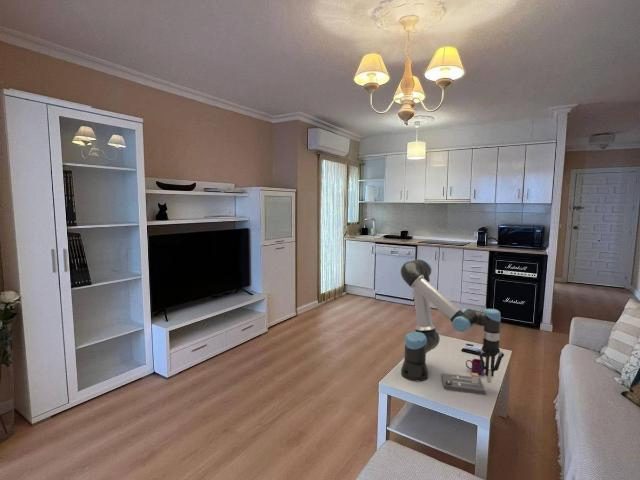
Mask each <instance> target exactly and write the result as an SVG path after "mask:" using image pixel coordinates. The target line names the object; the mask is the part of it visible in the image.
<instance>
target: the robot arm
mask: <svg viewBox="0 0 640 480" xmlns="http://www.w3.org/2000/svg"><path fill="white" fill-rule="evenodd" d="M431 274H432V265H431V263H429V261H427V260H425V259H421V258H419V259H415V260H410V261H406V262H404V264H403V265H402V266H401V269H400V276H401V278H402V279H403V281H404V282H405V283H406V284H407V285H408V286H409V287H410V288H411V289H412V290H413V299H414V306H415V317H416V326H415V327H414V331H413V332H408V333H407V334H405V338H404V361H403V363H402V366H401V368H400V375H402V377H403V378H405V379H406V380H409V381H414V382H422V381H426V380H427V379H429V369H428V367H427V363H426V362H427V360H426V359H427V353H429V352H430V351H431V350H434V349H435V348H436V347H437V346H438V345H439V343H440V339H441V337H440V334H439V332H438V331H437V330H436V326H435V325H434V324H433V322H432V321H433V319H432V311H431V305H433V307H435V308H436V309H437V310H439V312H441V313H442V314H443V315H444V316H445V317H446V318H447V319H448V320H449V321H451V322H452V326H453V328H454V329H455V331H457V332H460V333H463V332H465V331H468V330H470V329H471V327H473V326H476V325H477V326H479V327H483V339H482V340H483V341H482V347H481V348H480V349H477V350H476V351H477V353H478V356H479V359H480V361H481V365H482V368H483V369H484V375H485V376H486V382H487V384H492V378H494V375H495V374H494V373H495V371H497V372H498V371H499V367H500V365H501V362H502V359H503V358H504V357H505V353H504V352H503V351H501V350H500V335H501V334H500V332H501V331H500V330H501V317H502V316H501V311H499V310H498V309H496V308H486V309H485V310H484V311H481V310H477V309H476V310H475V309H472V308H465V307H464V308H462V309H460V308H458V306H456V305H455V304H454V303H453V302H452V301H451V300H449V299H448V298H447V297H446V296H445V295H444V294H442V293H441V292H440V291H439V290H438V289H437V288H436V287H434V286H433V284H431V283H430V282H431V280H430V275H431ZM483 354H484V355H485V361H484V357H483ZM496 356H497V358H496ZM495 361H496V362H495ZM484 362H485V366H484Z"/></svg>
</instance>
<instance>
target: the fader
mask: <svg viewBox="0 0 640 480" xmlns="http://www.w3.org/2000/svg"><path fill="white" fill-rule="evenodd" d="M470 374H471V376H470V377H471V382H472V383H474V384H478V378H480V375H478V373H472V372H471V373H470Z"/></svg>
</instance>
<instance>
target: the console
mask: <svg viewBox="0 0 640 480" xmlns="http://www.w3.org/2000/svg"><path fill="white" fill-rule="evenodd" d="M441 380H442V387H443V389H444V390H448V391H456V392H464V393H471V394H478V395H486V389H485V387H484V384H483V381H482V378H481V377H478V384H474V383H472V382H471V376H470V375H469V376H468V375H459V374H452V373H444V372H442V373H441Z"/></svg>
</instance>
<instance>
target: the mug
mask: <svg viewBox="0 0 640 480" xmlns="http://www.w3.org/2000/svg"><path fill="white" fill-rule="evenodd" d="M468 362H470V363H471V367H469V365H468ZM485 363H486V361H484V366H485ZM465 366H466V368H467V369H469V370H470V371H471V373H478V375H479V376H483V375H485V369H483V368H482V365H481V361H480V358H472V360H470V359H467V360H465Z"/></svg>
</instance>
